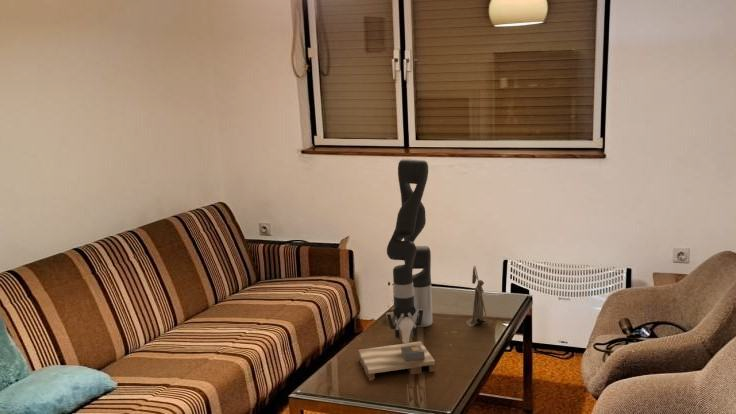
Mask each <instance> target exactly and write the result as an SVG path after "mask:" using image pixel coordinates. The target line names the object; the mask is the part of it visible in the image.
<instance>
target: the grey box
mask: <svg viewBox="0 0 736 414" xmlns="http://www.w3.org/2000/svg"><path fill="white" fill-rule="evenodd" d="M401 355H402V357H403V359H404V360H405V362H409V361H416V360H423V359H425V355H424V350H423V349H422V347H421V346H420V345H416V346H408V347H401Z"/></svg>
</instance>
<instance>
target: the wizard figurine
mask: <svg viewBox="0 0 736 414" xmlns="http://www.w3.org/2000/svg"><path fill="white" fill-rule="evenodd" d="M471 277H472V278H471V279H472V280H471V283H472V284H473V285H475V284H476V282H477V285H476V286H475V290H474V298H473V306H472V307H473V309H472V317H471V318H470V319H468V320H467V321H466V325H467V326H468V327H474V326H475V325H476V324H477V325H478V324H479V322H478V320H479V319H480V321H481V322H483V321H484V322H487V323H488V322H489V321H488V316H487V311H486V308H485V303H484V298H483V294H484V289H483V286H484V284H485V282H484V281H483V280H482V279H479V276H478V271H477V267H476V265H473V268H472V276H471ZM484 316H485V319H484Z"/></svg>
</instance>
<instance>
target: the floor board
mask: <svg viewBox="0 0 736 414" xmlns="http://www.w3.org/2000/svg"><path fill="white" fill-rule="evenodd" d="M416 345H420V346H421V347H422V349H423V350H424V355H425V359H423V360H416V361H409V362H405V360H404V359H403V357H402V355H401V347H408V346H416ZM358 358H359V359H358V360H359V363H360V364H361V366H362V369H363V368H364V369H363V370H364V373H365V375H366V376H367V378H369V379H368V381H369V380H370V381H373V380H372V379H375V380H376V377H375V374H378V373H379V374H380V373H386V372H391V371H399V370H405V369H407V371H408V373H409V375H411V374H412V375H418V374H422V373H423V371H422V367H425V368H426V369H427V371H429V372H436V361H435V359H434V357H433V356H432V354H431V353H430V352H429V351H428V349H427V348H426V346H425V345H424V344H423V342H422V341H420V340H419V341H414V342H413V341H412V342H409V343H407V344H405V343H399V344H393V345H392V344H391V345H384V346H378V347H370V348H368V347H367V348H362V349H358Z"/></svg>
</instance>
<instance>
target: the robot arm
mask: <svg viewBox="0 0 736 414" xmlns="http://www.w3.org/2000/svg"><path fill="white" fill-rule="evenodd" d="M397 165H398V166H397V178H398V184H399V185H398V186H399V191H400V200H401V207H400V208H399V210H398V213H397V218H396V224H395V228H394V231H393V234H392V236H391V238H390V239H389V242H388V244H387V245H386V246H387V247H386V255H387V257H388V258H389V259H390V260H392V261H403V262H404V263H403V264H399V265H396V266H394V267H393V269H392V275H393V276H392V277H393V278H392V279H393V280H392V282H393V286H392V294H393V295H392V296H393V309H392V311H390V312H385V315H386V319H387V323H388V327H389V328H390V330H394V337H395V338H396V339H397V340H401V339H400V329H399V324H400V323H401V321H402V319H403V318H404V317H409V319H411V320H412V321H413V322H414V326H413V328H412V330H411V332H410V334H411V337H412V338H415V337H416V336H417V328H425V327H429V326H432V324H433V302H432V301H433V300H432V299H433V298H432V276H431V266H432V265H431V262H432V255H431V249H430V247H429V246H426V245H421V246H420V245H416V244H415V240H416V239H417V237H418V236H419V235H420V233H421V232H422V230H423V229H424V228H425V227H426V222H427V221H426V220H427V218H426V208H425V206H424V204H423V203H422V199H423V195H424V192H425V188H426V185H427V181H428V176H429V164H428V162H427V161H426V160H425V159H412V158H402V159H401V160H399V162H398V164H397ZM411 185H415V188H414V189H413V188H412V186H411ZM419 269H420V270H421V269H422V270H421V271H419V272H417V273H415V274H413V270H419ZM393 316H395V320H394V321H395V322H393V320H392V319H393V318H394V317H393Z"/></svg>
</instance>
